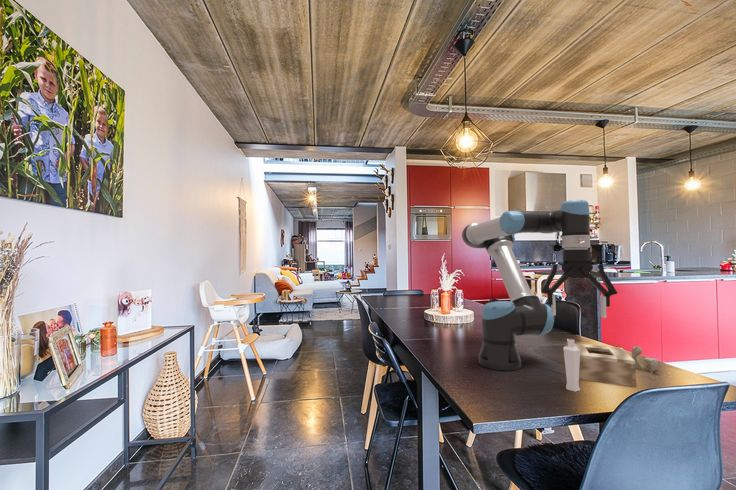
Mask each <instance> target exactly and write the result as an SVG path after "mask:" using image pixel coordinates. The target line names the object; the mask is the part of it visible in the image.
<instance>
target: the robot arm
mask: <svg viewBox="0 0 736 490" xmlns="http://www.w3.org/2000/svg"><path fill="white" fill-rule="evenodd" d="M590 214H591V212H590V206H589V202H588V201H587V200H586V199H573V200H566V201H563V202H561V205H560V209H557V210H550V211H549V210H534V211H533V210H515V209H514V210H507V211H504V212H502V214H501V215H500V217H496V218H493V219H490V220H486V221H483V222H480V223H479V222H473V223H470V224H468V225H465V227H463V230H462V231H461V238H462V241H463V243H465V245H466V246H469V247H470V248H472V249H473V248H474V249H485V251H486V252H487V254H488V255H489V256H491V257H493V260H494V263H495V266H496V267H497V270H498V272H499V276H500V278H501V279H502V283H503V284H504V287H505V289H506V292H507V294H508V297H509V299H510V301H509V300H500V301H498V300H497V301H491V302H487V303H485V304H484V305H483V306H482V310H481V325H482V344H481V348H480V351H479V354H478V363H479V365H480V366H482V367H484V368H488V369H491V370H497V371H506V372H507V371H517V370H519V369H521V368H522V360H521V359H522V358H521V357H520V354H519V351H518V348H517V345H516V343H517V342H516V336H518V337H519V336H540V335H547V334H548V333H550V332H551V331H552V330H553V326H554V323H555V316H556V315H557V310H556V309H557V308H556V307H557V306H556V294H555V292H556V291H557V290H558V289H559V288H560V287H561V286H562V285H563V283H565V282H566V280H569V278H571V279H583V280H584V279H585V278H586V279H587V280H588V281H589V283H591V284H592V285H593V286H594V287H595V288H596V289H597V291H599V292H600V293H601V294H602V295H599V303H600V304H599V307H600V317H602V318H603V319H607V317H608V316H607V307H609V308H610V306H611V300H610V299H611V298H610V297H611V296H614V295H617V294H618V291H617V289H616V288H615V286H614V284H613V282H611V280H610V278H609V277H608V275H607V273H606V272H605V267H604V264H602V263H601V264H600V263H597V264H592V258H591V257H592V256H591V255H592V254H591V251H592V250H590V249H589V248H590V247H591V232H590V231H591V230H590V229H591V225H590V220H591V219H590ZM522 233H524V234H526V233H528V234H529V233H535V234H537V233H538V234H539V233H540V234H553V233H561V244H562V245H561V248H562V249H563V250H562V263H561V265H560V264H556V263H553V264H551V266H550V267H551V269H550V272H549V274H548V275H547V278H546V279H545V281H544V283H543V285H542V287H541V288H540V291H541V292H542V293H544V294H546V295H547V303H542V302H541V300H540V297H539V296H538V295H536V294H534V293H533V291H532V290H531V287H530V285H529V284H528V282H527V279H526V277H525V274H524V273H523V271H522V268H521V267H520V264H519V261H518V260H517V258H516V255H515V253H514V252H513V251H514V250H513V247H514V244H515V240H516V238H515V236H516V235H517V234H522ZM560 270H561V271H563V273H562V274H561V276H560V277H559V278H558V279H557V280H556V281H555V282H554V284H552V285H551V283H552V282H553V280H554V278H555V276H556V274H557V272H559V271H560ZM592 270H594V271H595V272H597V274H598V276H599V277H600V279H601V281H602V282H603V284H604V286H605V287H606V288H605V287H604V286H603V285H602V284H601V283H600V282H599V281H598V280H597V279H596V278H595V277H594V276H593V275H592V274H591V272H592ZM550 285H551V287H550ZM550 305H551V306H550Z"/></svg>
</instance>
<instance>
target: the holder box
mask: <svg viewBox="0 0 736 490" xmlns="http://www.w3.org/2000/svg"><path fill="white" fill-rule="evenodd" d="M574 344H575V347H576V348H578V349H580V365H579V380H582V381H583V380H584V381H590V382H598V383H604V384H611V385H612V384H613V385H619V386H626V387H635V388H637V374H636V370H637V369H636V368H635V360H634V359H633V358H632V355H630V353H628V352H627V351H626V350H625V349H624V348H623V347H617V346H608V345H607V346H606V345H595V344H587V343H586V344H585V343H576V342H574Z"/></svg>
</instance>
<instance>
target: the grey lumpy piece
mask: <svg viewBox="0 0 736 490" xmlns="http://www.w3.org/2000/svg"><path fill="white" fill-rule="evenodd" d="M642 351H643V349H642V348H641V346H638V345H637V346H633V347H632V348H631V357H632V358H633V359H634V360H635V368H636V370H637V369H638V370H643V371H647V372H650V373H651V374H654V372H655V371H656V370H658V367H659V365H660V364H659V362H658V360H657V359H656V358H654V357H653V358H649V357H647V356H646V357H644V362H645V364H647V365H643V364H641V363H640V362H639V361H638V360H637V357H638V356H640V355H641V354H642Z"/></svg>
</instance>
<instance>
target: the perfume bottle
mask: <svg viewBox="0 0 736 490" xmlns="http://www.w3.org/2000/svg"><path fill="white" fill-rule="evenodd" d="M566 340H567V345H565V346H563V356H564V357H563V358H564V368H565V375H566V386H565V389H566V390H567V391H571V392H578V391H581V388H580V384H579V380H580V379H579V365H580V349H578V348H576V347H575V344H574V343H575V339H572V338H567V339H566Z"/></svg>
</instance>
